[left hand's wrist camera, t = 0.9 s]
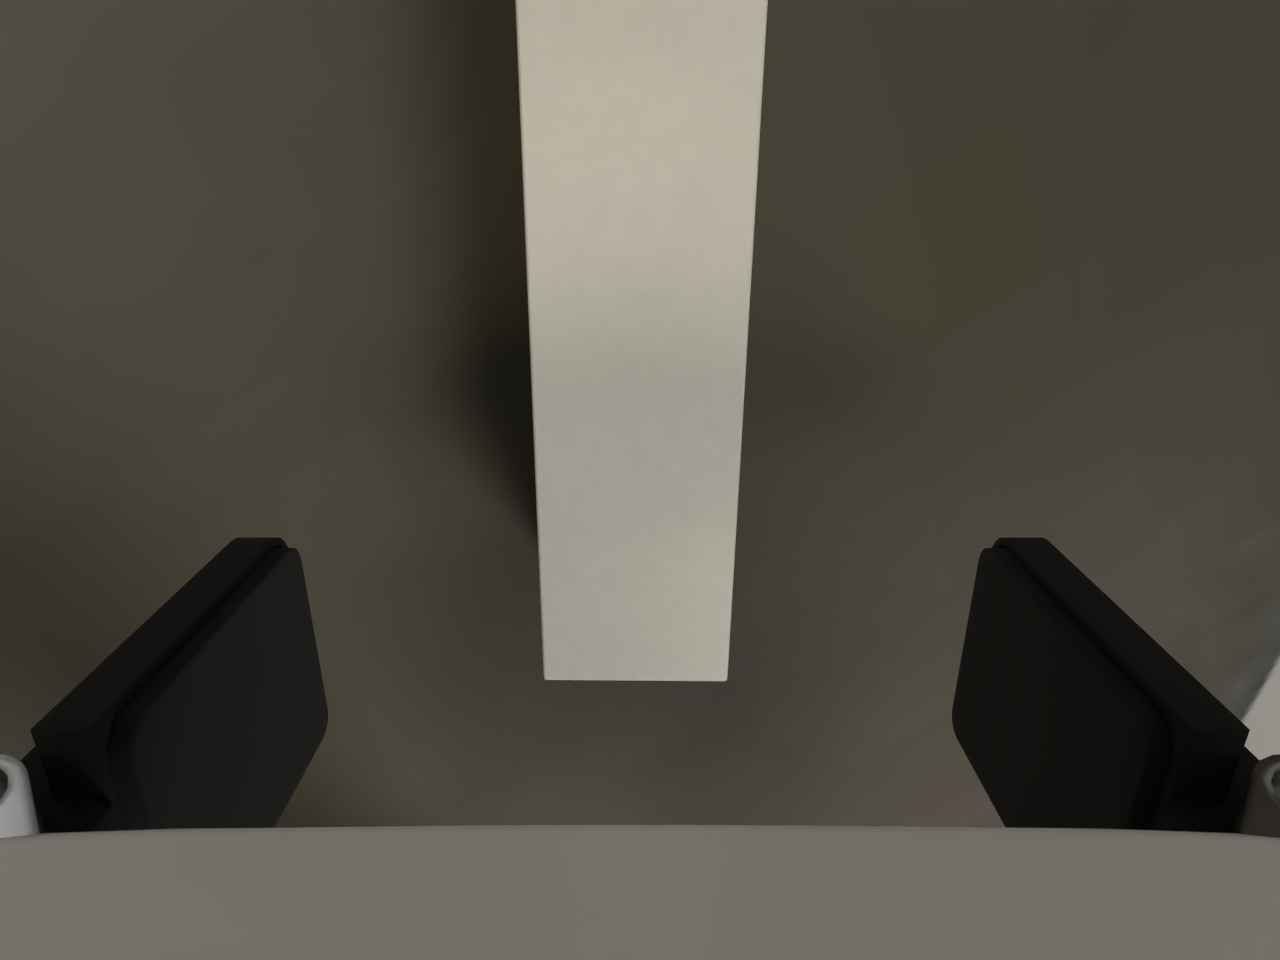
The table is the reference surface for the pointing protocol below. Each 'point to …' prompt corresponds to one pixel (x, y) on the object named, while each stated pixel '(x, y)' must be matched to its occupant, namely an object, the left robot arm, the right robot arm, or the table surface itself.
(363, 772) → the table surface
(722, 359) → the post
